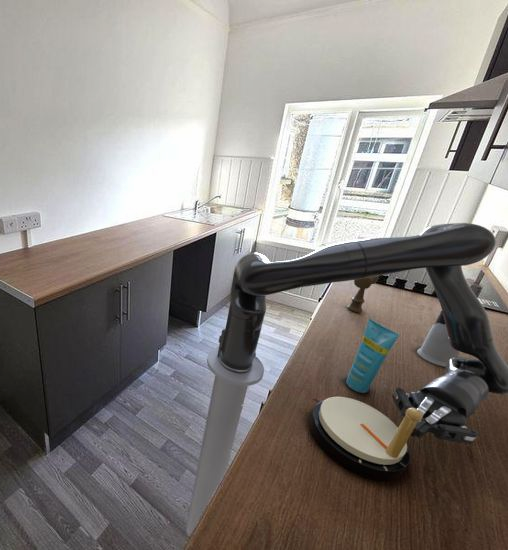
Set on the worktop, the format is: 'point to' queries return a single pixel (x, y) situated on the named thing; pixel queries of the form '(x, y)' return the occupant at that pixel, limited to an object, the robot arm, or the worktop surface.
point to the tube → (370, 355)
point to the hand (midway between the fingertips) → (410, 431)
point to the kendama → (361, 292)
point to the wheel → (367, 429)
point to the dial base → (352, 461)
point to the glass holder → (437, 344)
